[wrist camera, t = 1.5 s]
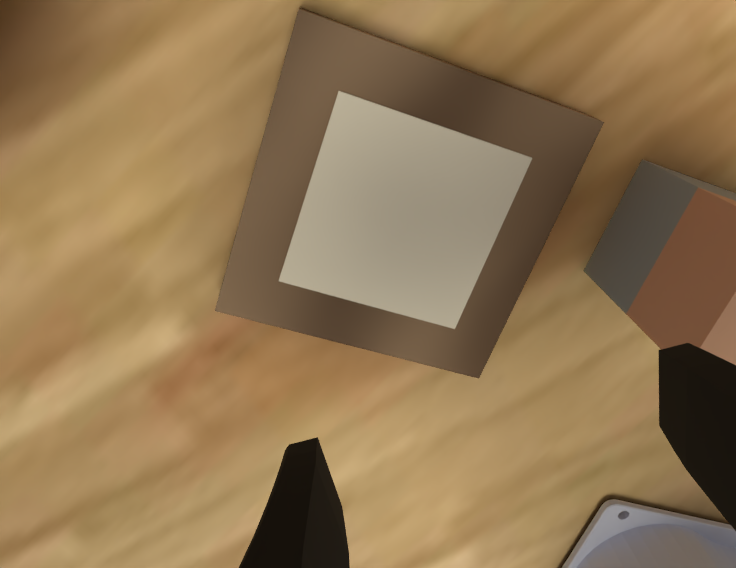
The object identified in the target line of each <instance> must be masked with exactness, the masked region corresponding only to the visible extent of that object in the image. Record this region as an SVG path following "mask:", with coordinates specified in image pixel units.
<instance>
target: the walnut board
mask: <svg viewBox="0 0 736 568" xmlns="http://www.w3.org/2000/svg"><path fill="white" fill-rule="evenodd" d="M603 123H604V122H602V121H600V120H598V119H596V118H593V117H591V116H589V115H587V114H584V113H582V112H579V111H576V110H574V109H571V108H568V107H566V106H563V105H560V104H557V103H555V102H552V101H549V100H547V99H544V98H541V97H539V96H536V95H533V94H531V93H528V92H525V91H523V90H520V89H517V88H515V87H512V86H509V85H506V84H504V83H501V82H498V81H496V80H493V79H490V78H488V77H485V76H482V75H480V74H477V73H474V72H472V71H469V70H466V69H463V68H461V67H458V66H455V65H453V64H450V63H447V62H445V61H442V60H439V59H437V58H434V57H431V56H429V55H426V54H423V53H421V52H418V51H415V50H412V49H410V48H407V47H404V46H402V45H399V44H396V43H394V42H391V41H388V40H386V39H383V38H380V37H378V36H375V35H372V34H370V33H367V32H364V31H361V30H359V29H356V28H353V27H351V26H348V25H345V24H343V23H340V22H337V21H335V20H332V19H329V18H327V17H324V16H321V15H319V14H316V13H313V12H310V11H308V10H305V9H302V8H300V7H299V10H298V14H297V17H296V21H295V25H294V28H293V32H292V35H291V39H290V43H289V46H288V50H287V53H286V57H285V61H284V64H283V68H282V71H281V75H280V79H279V82H278V86H277V89H276V93H275V96H274V100H273V104H272V107H271V111H270V114H269V118H268V122H267V125H266V129H265V132H264V136H263V140H262V143H261V147H260V150H259V154H258V158H257V161H256V165H255V168H254V172H253V176H252V179H251V183H250V186H249V190H248V194H247V197H246V201H245V204H244V208H243V211H242V215H241V219H240V222H239V226H238V229H237V233H236V237H235V240H234V244H233V247H232V251H231V255H230V258H229V262H228V265H227V269H226V273H225V276H224V280H223V283H222V287H221V291H220V294H219V298H218V301H217V305H216V309H215V311H217V312H221V313H225V314H229V315H233V316H237V317H241V318H245V319H248V320H252V321H256V322H260V323H264V324H268V325H272V326H276V327H280V328H284V329H288V330H291V331H295V332H299V333H303V334H307V335H311V336H315V337H319V338H323V339H327V340H331V341H334V342H338V343H342V344H346V345H350V346H354V347H358V348H362V349H366V350H370V351H374V352H378V353H381V354H385V355H389V356H393V357H397V358H401V359H405V360H409V361H413V362H417V363H421V364H424V365H428V366H432V367H436V368H440V369H444V370H448V371H452V372H456V373H460V374H464V375H467V376H471V377H475V378H479V377H480V375H481V373H482V371H483V369H484V367H485V365H486V363H487V361H488V359H489V357H490V355H491V353H492V350H493V348H494V346H495V344H496V342H497V340H498V338H499V336H500V334H501V332H502V330H503V328H504V326H505V324H506V322H507V320H508V318H509V316H510V314H511V312H512V310H513V307H514V305H515V303H516V301H517V299H518V297H519V295H520V293H521V291H522V289H523V287H524V285H525V283H526V281H527V279H528V277H529V275H530V273H531V271H532V269H533V267H534V265H535V262H536V260H537V258H538V256H539V254H540V252H541V250H542V248H543V246H544V244H545V242H546V240H547V238H548V236H549V234H550V232H551V230H552V228H553V226H554V224H555V222H556V220H557V217H558V215H559V213H560V211H561V209H562V207H563V205H564V203H565V201H566V199H567V197H568V195H569V193H570V191H571V189H572V187H573V185H574V183H575V181H576V179H577V177H578V174H579V172H580V170H581V168H582V166H583V164H584V162H585V160H586V158H587V156H588V154H589V152H590V150H591V148H592V146H593V144H594V142H595V140H596V138H597V136H598V134H599V132H600V129H601V127H602V125H603Z"/></svg>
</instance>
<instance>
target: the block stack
mask: <svg viewBox="0 0 736 568" xmlns="http://www.w3.org/2000/svg"><path fill="white" fill-rule="evenodd" d="M584 272H585V273H586V274H587V275H588V276H589V277H590V278H591V279H592V280H593V281H594V282H595V283H596V284H597V285H598V286H599V287H600V288H601V289H602V290H603V291H604V292H605V293H606V294H607V295H608V296H609V297H610V298H611V299H612V300H613V301H614V302H615V303H616V304H617V305H618V306H619V307H620V308H621V309H622V310H623V311H624V312H625V313H626V314H627V315H628V316H629V317H630V318H631V319H632V320H633V321H634V322H635V323H636V324H637V325H638V326H639V327H640V328H641V329H642V330H643V331H644V332H645V333H646V334H647V335H648V336H649V337H650V338H651V339H652V340H653V341H654V342H655V343H656V344H657V345H658V346H659V347H660V349H665V348H669V347H673V346H677V345H681V344H685V343H690V344H692V345H694V346H697V347H699V348H701V349H703V350H705V351H707V352H709V353H712V354H714V355H716V356H718V357H720V358H722V359H724V360H726V361H728V362H730V363H732V364H734V365H736V193H734V192H731V191H728V190H726V189H723V188H720V187H717V186H715V185H712V184H709V183H706V182H703V181H701V180H698V179H695V178H692V177H690V176H687V175H684V174H681V173H679V172H676V171H673V170H670V169H668V168H665V167H662V166H659V165H657V164H654V163H651V162H648V161H645V160H643V159H642V160H641V162H640V164H639V166H638V168H637V170H636V172H635V174H634V176H633V178H632V180H631V181H630V183H629V185H628V187H627V189H626V191H625V193H624V195H623V197H622V199H621V200H620V202H619V204H618V206H617V208H616V210H615V212H614V214H613V216H612V218H611V220H610V221H609V223H608V225H607V227H606V229H605V231H604V233H603V235H602V237H601V239H600V241H599V242H598V244H597V246H596V248H595V250H594V252H593V254H592V256H591V258H590V260H589V262H588V263H587V265H586V267H585V269H584Z"/></svg>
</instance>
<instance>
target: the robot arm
mask: <svg viewBox="0 0 736 568" xmlns="http://www.w3.org/2000/svg"><path fill="white" fill-rule="evenodd" d="M659 426H660V428H661V429H662V431H663V433H664V434H665V436H666V438H667V439H668V441H669V443H670V444H671V446H672V448H673V449H674V451H675V453H676V454H677V456H678V457H679V459H680V460H681V462H682V464H683V465H684V467H685V468H686V470H687V471H688V472H689V473H690V475H691V476H692V477H693V479H694V480H695V481H696V482H697V484H698V485H699V486H700V487H701V489H702V490H703V491H704V492H705V494H706V495H707V496H708V497H709V499H710V500H711V501H712V502H713V504H714V505H715V506H716V507H717V509H718V510H719V511H720V512H721V514H722V515H723V516H724V517H725V518H726V520H727V521H728V522H729V523H730V525H729V524H725V523H720V522H716V521H711V520H707V519H702V518H698V517H693V516H689V515H684V514H680V513H675V512H670V511H666V510H661V509H657V508H652V507H648V506H643V505H639V504H634V503H630V502H625V501H621V500H616V499H611V500H607V501H606V502H604V503H603V504H602V506H601V507H600V509H599V510H598V512H597V513H596V515H595V517H594V518H593V520H592V521H591V523H590V524H589V526H588V527H587V529H586V531H585V532H584V534H583V535H582V537H581V538H580V540H579V542H578V543H577V545H576V546H575V548H574V549H573V551H572V552H571V554H570V556H569V557H568V559H567V560H566V562H565V563H564V565H563V567H562V568H736V365H734V364H732V363H730V362H728V361H726V360H724V359H722V358H720V357H718V356H716V355H714V354H712V353H709V352H707V351H705V350H703V349H701V348H699V347H697V346H694V345H692V344H690V343H685V344H681V345H677V346H673V347H669V348H665V349H661V350H659ZM622 511H623V512H622ZM620 512H621V513H620ZM239 568H349V551H348V544H347V537H346V530H345V523H344V516H343V510H342V505H341V502H340V499H339V497H338V494H337V491H336V488H335V485H334V483H333V480H332V477H331V474H330V471H329V468H328V466H327V463H326V460H325V457H324V454H323V451H322V449H321V446H320V443H319V440H318V437H317V438H313V439H310V440H306V441H302V442H298V443H294V444H290V445H289V446H288V447H287V448H286V450H285V453H284V456H283V459H282V463H281V466H280V469H279V472H278V475H277V478H276V481H275V484H274V486H273V489H272V492H271V494H270V497H269V500H268V502H267V505H266V507H265V510H264V512H263V515H262V517H261V520H260V522H259V525H258V527H257V529H256V532H255V534H254V536H253V539H252V541H251V543H250V545H249V547H248V549H247V551H246V553H245V556H244V558H243V560H242V562H241V564H240V566H239Z"/></svg>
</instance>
